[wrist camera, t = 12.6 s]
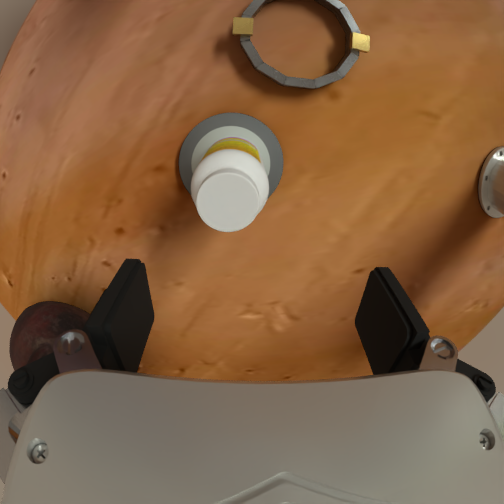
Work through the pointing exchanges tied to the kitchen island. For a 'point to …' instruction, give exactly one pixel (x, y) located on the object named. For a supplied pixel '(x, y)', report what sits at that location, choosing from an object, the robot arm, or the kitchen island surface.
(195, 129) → the coaster
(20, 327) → the jug
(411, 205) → the kitchen island surface
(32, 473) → the robot arm
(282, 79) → the collar
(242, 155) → the supplement bottle
